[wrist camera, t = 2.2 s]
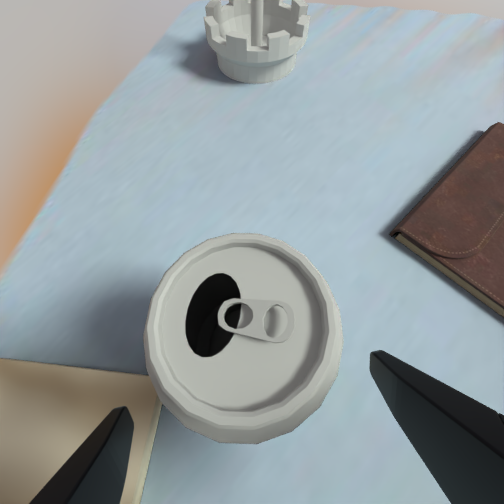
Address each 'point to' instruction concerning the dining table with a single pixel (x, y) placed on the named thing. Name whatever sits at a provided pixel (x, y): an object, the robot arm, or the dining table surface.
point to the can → (242, 338)
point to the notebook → (465, 221)
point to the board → (67, 422)
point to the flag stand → (256, 37)
